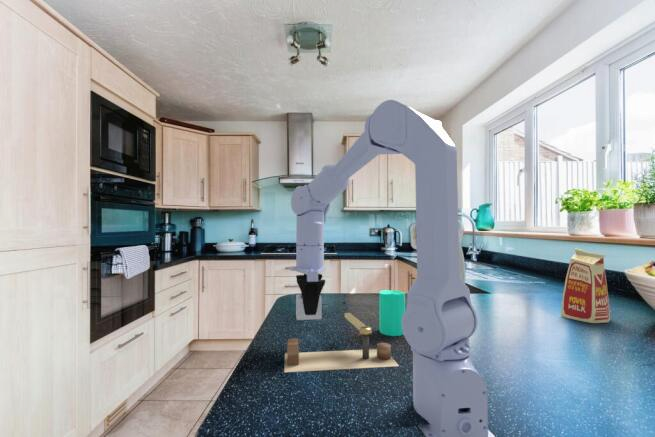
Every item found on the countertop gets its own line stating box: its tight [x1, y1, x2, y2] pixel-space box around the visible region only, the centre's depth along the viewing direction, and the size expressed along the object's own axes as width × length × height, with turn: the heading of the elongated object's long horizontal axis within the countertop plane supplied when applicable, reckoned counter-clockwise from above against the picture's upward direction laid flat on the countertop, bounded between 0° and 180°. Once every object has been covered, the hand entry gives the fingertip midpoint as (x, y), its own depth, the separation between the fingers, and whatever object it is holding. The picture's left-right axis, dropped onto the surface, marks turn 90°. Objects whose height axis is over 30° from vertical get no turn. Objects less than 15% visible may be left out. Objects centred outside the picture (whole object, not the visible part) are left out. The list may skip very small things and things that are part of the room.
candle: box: [378, 289, 406, 337], centre depth 72 cm, size 6×6×12 cm
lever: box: [344, 312, 372, 336], centre depth 62 cm, size 2×12×1 cm, turn 14°
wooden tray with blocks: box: [283, 334, 400, 373], centre depth 56 cm, size 8×20×6 cm, turn 97°
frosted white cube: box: [295, 293, 323, 321], centre depth 63 cm, size 4×5×4 cm
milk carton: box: [560, 247, 611, 324], centre depth 88 cm, size 9×9×20 cm
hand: (309, 311), depth 63 cm, fingers closed on frosted white cube, 4 cm apart
